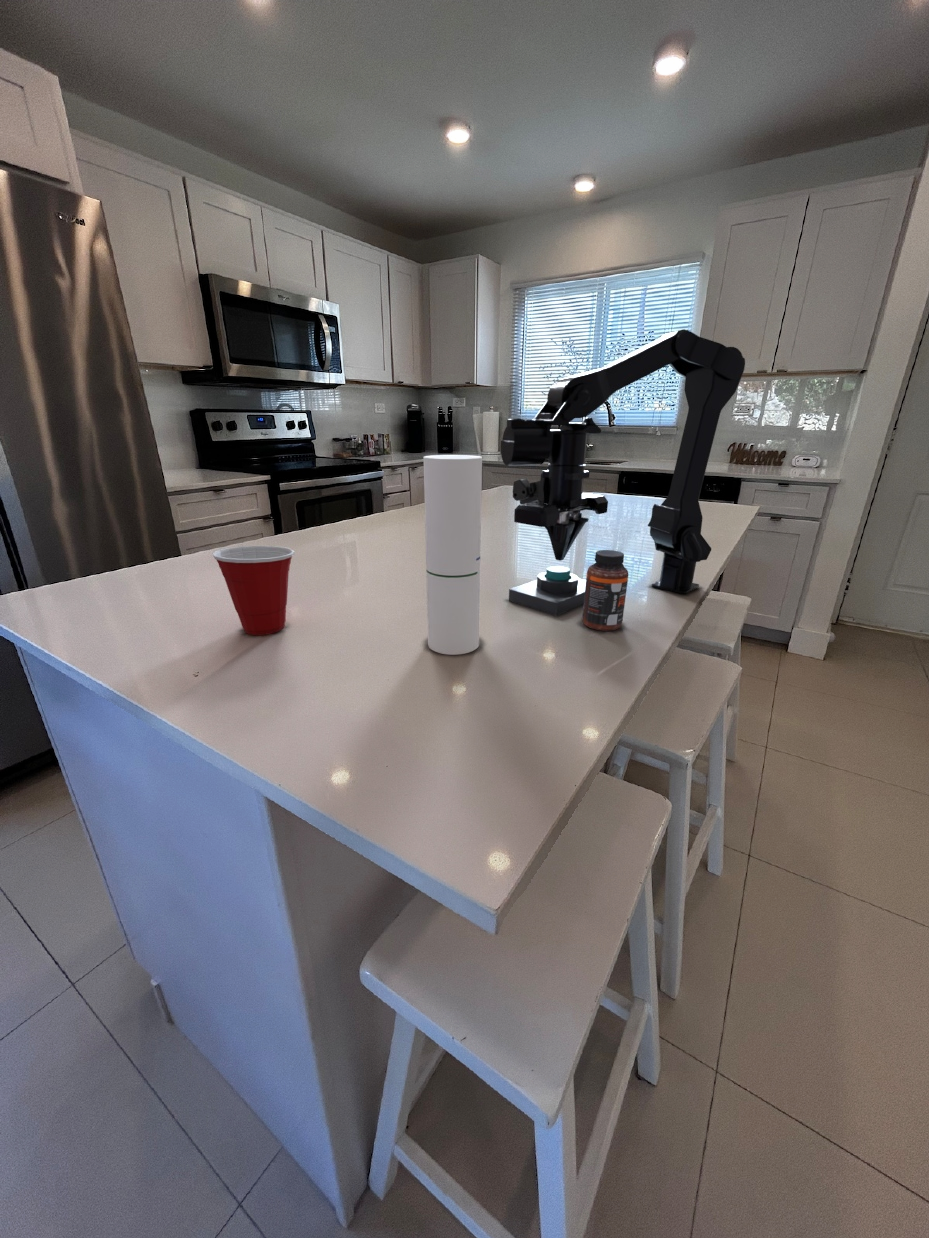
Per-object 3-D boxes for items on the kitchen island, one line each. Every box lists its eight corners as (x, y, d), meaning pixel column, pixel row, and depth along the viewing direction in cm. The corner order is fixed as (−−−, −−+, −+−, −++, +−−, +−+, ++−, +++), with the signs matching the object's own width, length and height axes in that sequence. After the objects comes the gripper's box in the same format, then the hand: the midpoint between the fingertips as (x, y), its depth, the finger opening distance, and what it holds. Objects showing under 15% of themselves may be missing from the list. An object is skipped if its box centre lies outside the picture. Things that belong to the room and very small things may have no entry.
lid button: (554, 574, 90) (555, 564, 90) (574, 578, 88) (574, 569, 87) (541, 578, 88) (541, 569, 87) (560, 583, 85) (561, 573, 84)
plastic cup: (318, 621, 79) (310, 545, 74) (266, 647, 70) (253, 563, 65) (265, 610, 83) (254, 537, 78) (209, 634, 74) (193, 553, 69)
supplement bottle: (623, 634, 74) (633, 559, 70) (581, 630, 76) (589, 556, 71) (620, 619, 80) (629, 548, 76) (581, 616, 81) (588, 546, 77)
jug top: (555, 583, 97) (557, 563, 95) (602, 595, 90) (604, 574, 89) (508, 601, 88) (509, 578, 86) (556, 616, 81) (558, 592, 80)
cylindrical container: (485, 637, 73) (489, 455, 64) (469, 657, 67) (471, 459, 58) (439, 630, 75) (436, 454, 66) (419, 650, 69) (413, 458, 60)
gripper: (558, 458, 92) (552, 543, 98) (489, 464, 80) (487, 561, 85) (614, 462, 85) (604, 553, 90) (547, 469, 72) (540, 575, 78)
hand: (559, 559), depth 86 cm, fingers closed
